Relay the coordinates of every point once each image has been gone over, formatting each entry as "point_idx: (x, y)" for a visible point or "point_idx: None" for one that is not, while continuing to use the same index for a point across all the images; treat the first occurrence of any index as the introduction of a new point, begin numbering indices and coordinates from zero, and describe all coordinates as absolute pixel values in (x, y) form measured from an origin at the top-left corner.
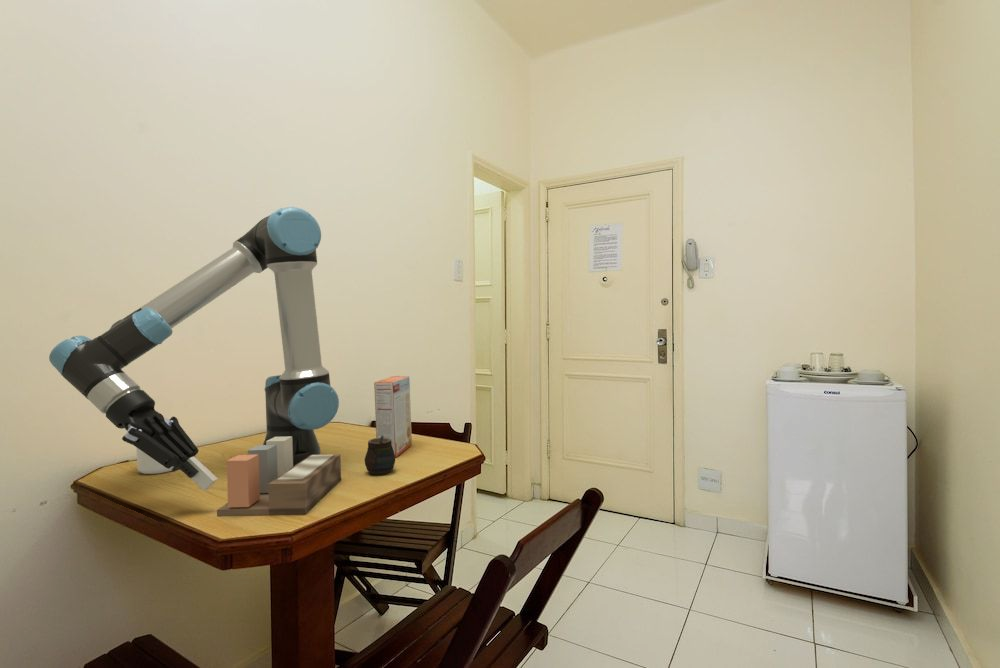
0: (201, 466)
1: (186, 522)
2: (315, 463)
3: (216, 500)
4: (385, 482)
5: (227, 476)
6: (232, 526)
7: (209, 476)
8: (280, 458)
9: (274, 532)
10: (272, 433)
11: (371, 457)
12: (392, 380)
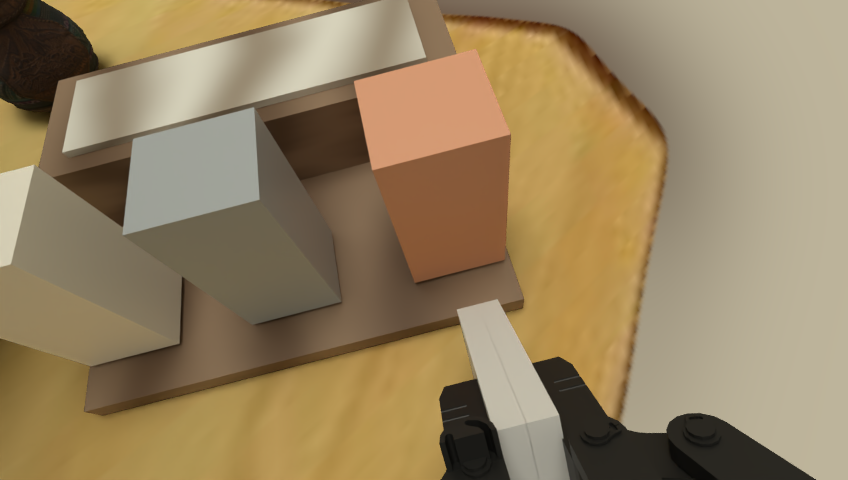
0: (499, 362)
1: (613, 377)
2: (209, 64)
3: (362, 468)
4: (172, 35)
5: (507, 188)
6: (580, 187)
7: (498, 317)
8: (110, 239)
9: (572, 61)
10: None
11: (55, 39)
12: None
